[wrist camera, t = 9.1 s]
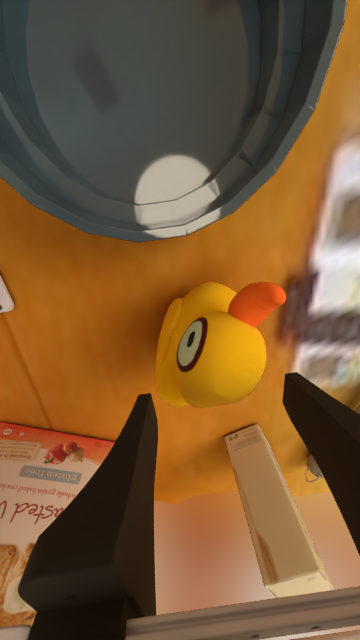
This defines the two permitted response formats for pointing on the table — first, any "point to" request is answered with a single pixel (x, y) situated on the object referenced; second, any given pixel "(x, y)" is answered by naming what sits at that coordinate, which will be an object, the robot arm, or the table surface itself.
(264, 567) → the cosmetic box
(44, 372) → the table surface
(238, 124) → the bowl
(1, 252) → the table surface
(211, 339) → the duckling
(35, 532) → the cracker box
